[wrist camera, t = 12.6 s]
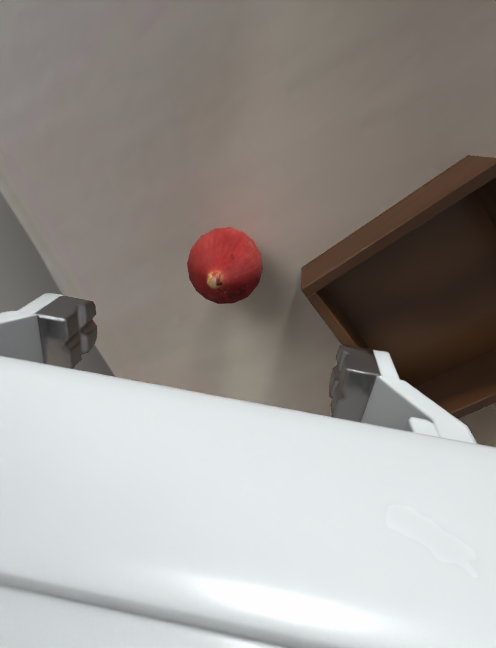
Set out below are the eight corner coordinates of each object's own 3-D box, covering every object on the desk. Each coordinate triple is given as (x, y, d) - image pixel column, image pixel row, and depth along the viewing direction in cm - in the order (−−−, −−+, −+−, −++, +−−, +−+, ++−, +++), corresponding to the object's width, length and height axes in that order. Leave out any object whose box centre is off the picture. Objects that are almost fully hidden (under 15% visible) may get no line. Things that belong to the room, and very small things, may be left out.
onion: (277, 268, 33) (270, 303, 26) (221, 295, 35) (200, 335, 28) (245, 207, 31) (229, 227, 24) (188, 239, 33) (156, 266, 26)
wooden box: (301, 267, 33) (301, 289, 28) (468, 154, 28) (503, 158, 23) (397, 400, 37) (411, 438, 33) (557, 324, 32) (601, 357, 27)
